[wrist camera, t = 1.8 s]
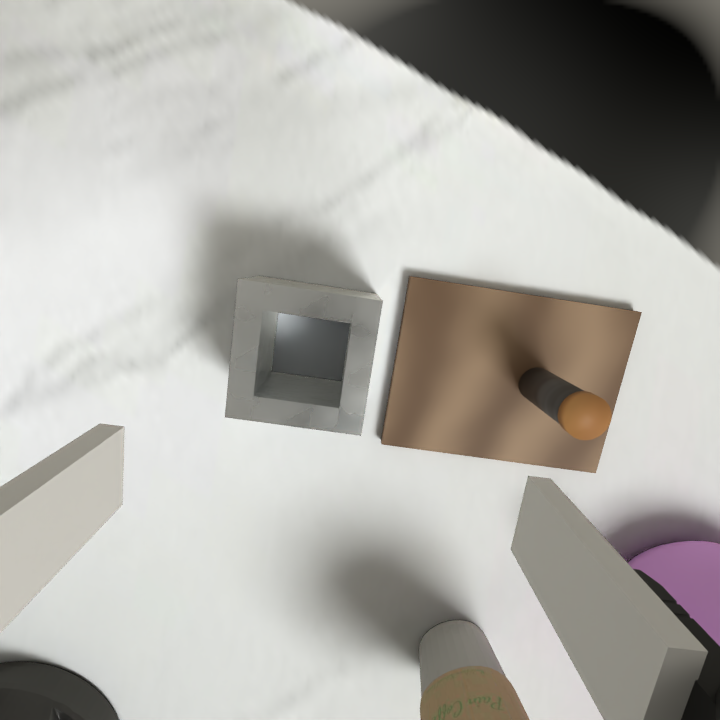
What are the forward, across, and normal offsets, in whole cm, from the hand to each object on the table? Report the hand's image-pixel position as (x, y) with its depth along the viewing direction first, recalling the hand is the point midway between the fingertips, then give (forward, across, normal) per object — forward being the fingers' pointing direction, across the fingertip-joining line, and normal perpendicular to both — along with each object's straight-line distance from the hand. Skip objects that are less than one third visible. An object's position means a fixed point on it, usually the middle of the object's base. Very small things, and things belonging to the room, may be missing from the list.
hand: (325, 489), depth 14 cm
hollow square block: (+17, -2, +1) cm, 18 cm away
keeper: (+18, +12, +1) cm, 21 cm away
